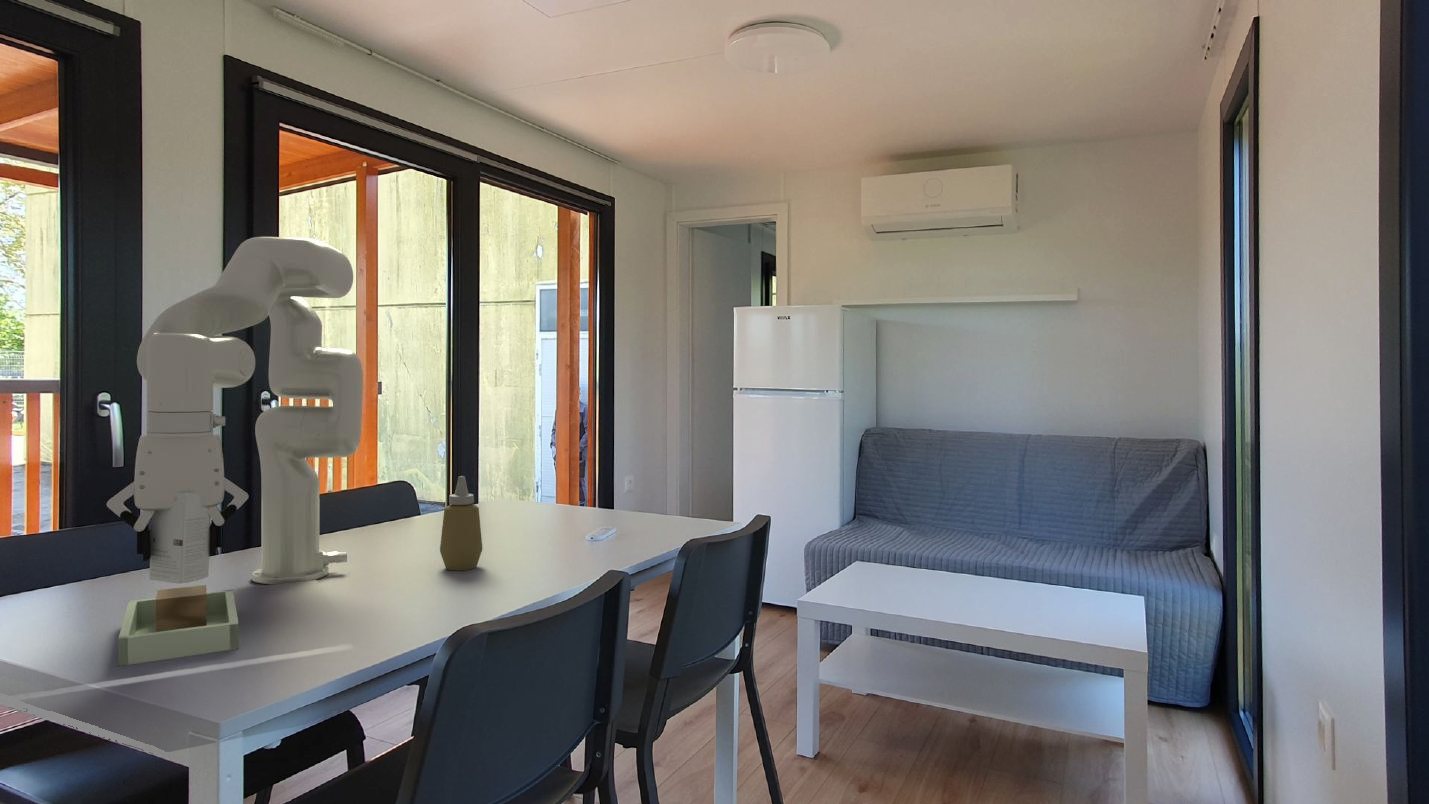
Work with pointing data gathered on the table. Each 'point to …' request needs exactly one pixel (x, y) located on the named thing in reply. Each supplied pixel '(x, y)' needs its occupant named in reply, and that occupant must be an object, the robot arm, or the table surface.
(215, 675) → the table surface
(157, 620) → the walnut block
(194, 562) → the skincare box
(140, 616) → the tote
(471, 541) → the squeeze bottle
